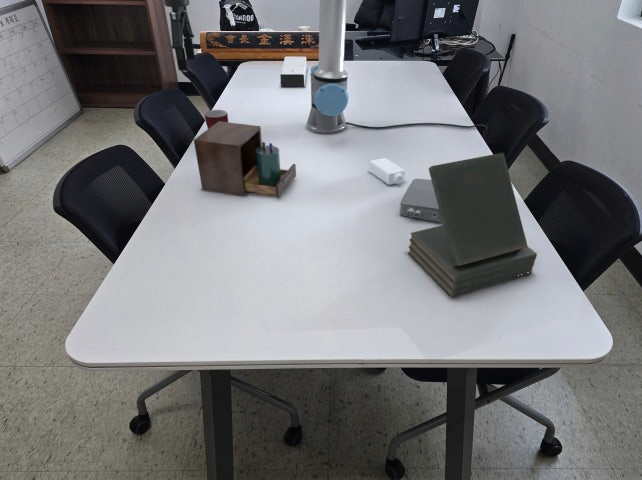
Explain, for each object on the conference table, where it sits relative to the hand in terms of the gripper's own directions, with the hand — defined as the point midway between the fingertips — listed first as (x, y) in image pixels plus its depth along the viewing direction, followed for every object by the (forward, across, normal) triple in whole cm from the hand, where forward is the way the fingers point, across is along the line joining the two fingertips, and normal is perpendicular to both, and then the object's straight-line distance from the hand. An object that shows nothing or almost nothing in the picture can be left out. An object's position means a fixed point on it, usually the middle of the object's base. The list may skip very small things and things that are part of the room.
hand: (187, 64), depth 164 cm
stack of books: (+28, +78, +78) cm, 114 cm away
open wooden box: (+28, +31, +16) cm, 44 cm away
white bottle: (+28, +29, +64) cm, 76 cm away
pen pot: (+26, +35, +27) cm, 51 cm away
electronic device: (+28, +51, +78) cm, 97 cm away
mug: (+28, -2, +6) cm, 28 cm away
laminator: (+28, -85, +32) cm, 95 cm away
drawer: (+27, +35, +27) cm, 51 cm away
